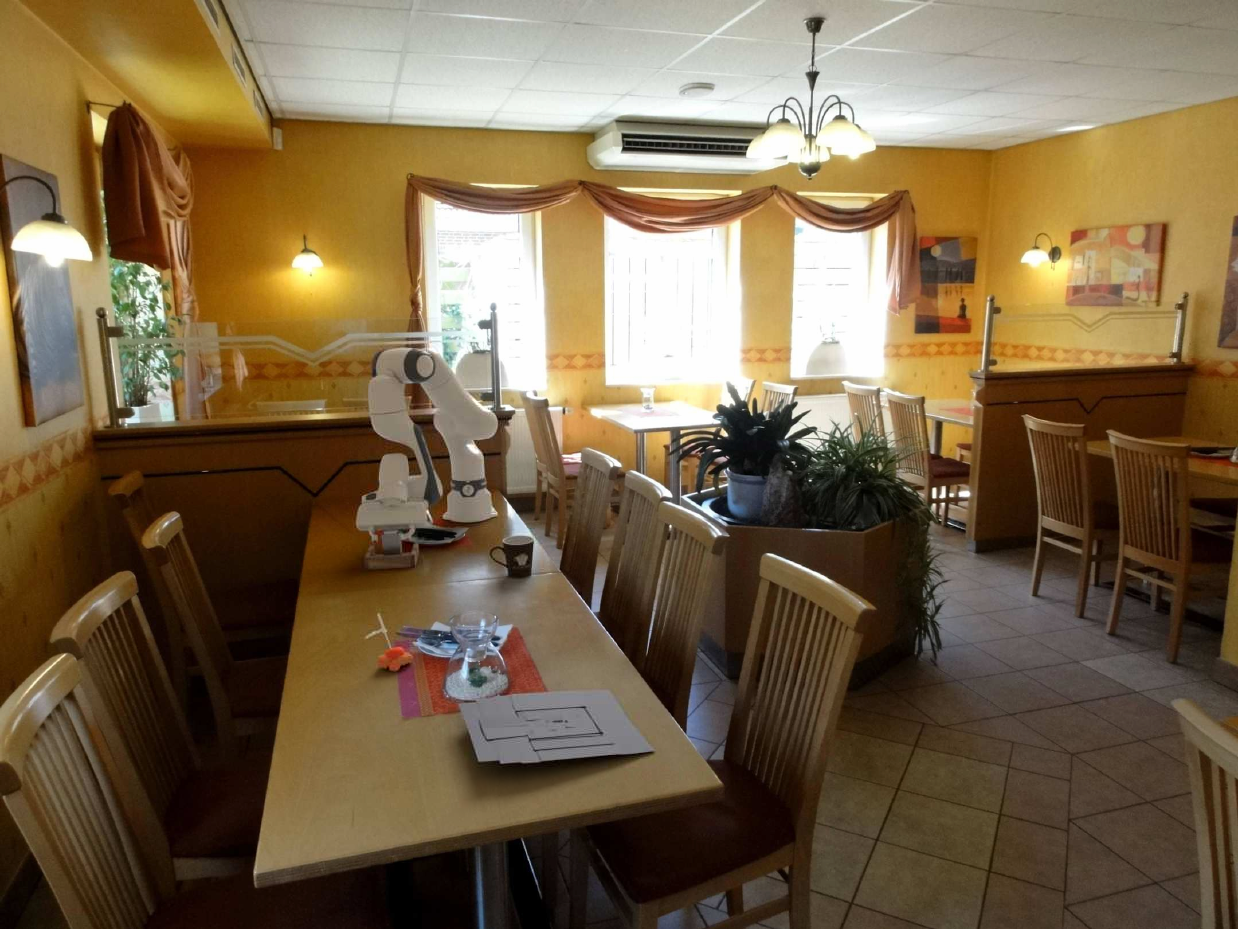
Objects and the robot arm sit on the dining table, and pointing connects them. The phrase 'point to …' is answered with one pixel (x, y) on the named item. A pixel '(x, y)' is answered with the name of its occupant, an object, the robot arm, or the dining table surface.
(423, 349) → the robot arm
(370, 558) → the bay
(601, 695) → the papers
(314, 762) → the dining table surface
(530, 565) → the coffee mug
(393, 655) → the orange flower
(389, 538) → the grey upright block
